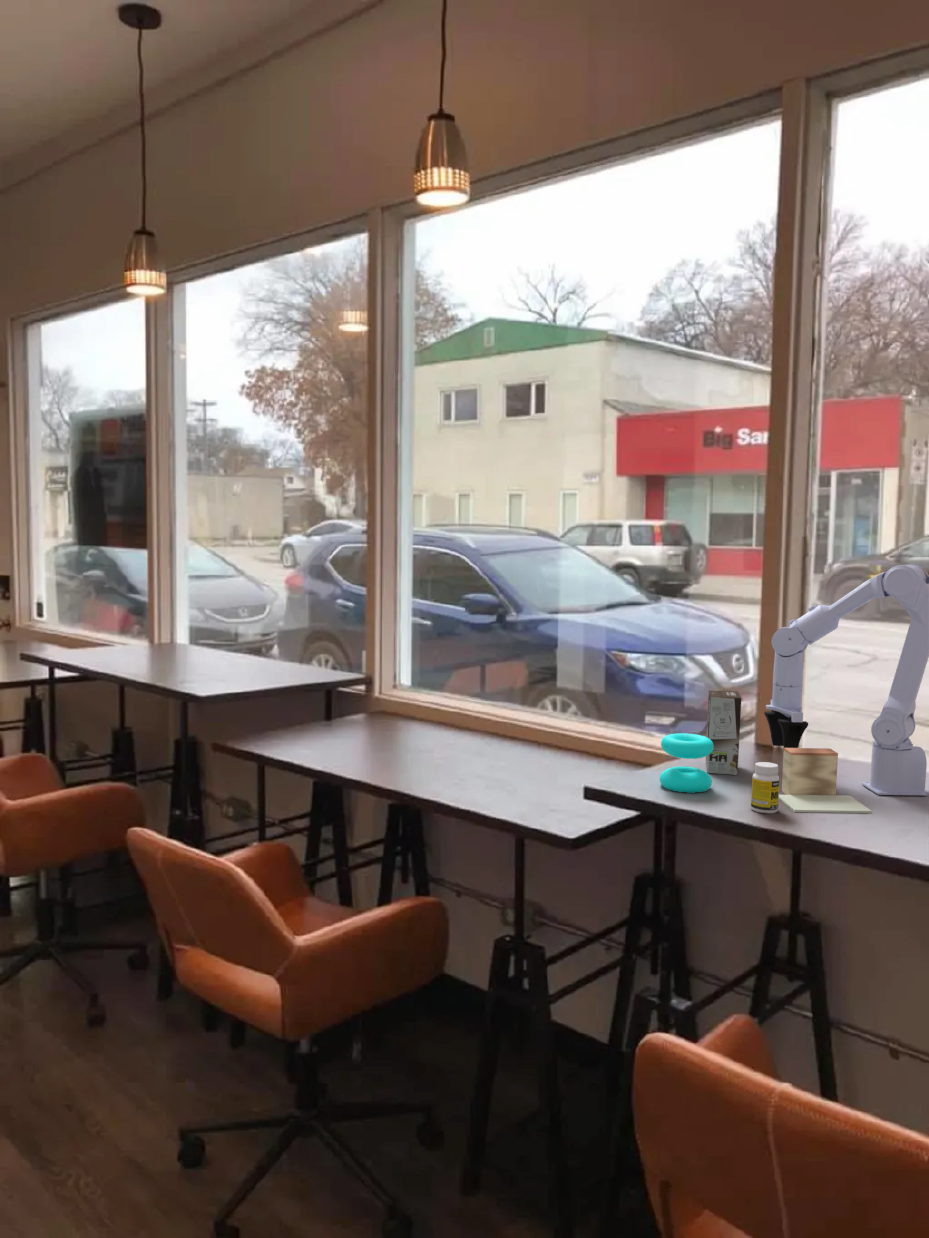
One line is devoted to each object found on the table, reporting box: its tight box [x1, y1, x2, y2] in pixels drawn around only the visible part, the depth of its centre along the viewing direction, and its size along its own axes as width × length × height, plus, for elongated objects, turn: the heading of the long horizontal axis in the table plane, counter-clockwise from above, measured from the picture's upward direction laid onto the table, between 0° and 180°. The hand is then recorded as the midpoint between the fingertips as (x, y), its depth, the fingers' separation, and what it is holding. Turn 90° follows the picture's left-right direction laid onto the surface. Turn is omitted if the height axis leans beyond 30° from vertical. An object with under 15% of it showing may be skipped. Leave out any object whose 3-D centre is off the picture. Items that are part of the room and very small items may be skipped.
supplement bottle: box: [750, 761, 780, 814], centre depth 179 cm, size 5×5×8 cm
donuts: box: [659, 732, 714, 794], centre depth 193 cm, size 10×10×10 cm
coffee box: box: [705, 690, 742, 776], centre depth 208 cm, size 9×6×16 cm
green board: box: [778, 794, 873, 814], centre depth 183 cm, size 14×10×1 cm
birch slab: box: [781, 747, 839, 795], centre depth 190 cm, size 9×4×8 cm, turn 90°
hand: (783, 749), depth 205 cm, fingers open, 7 cm apart
